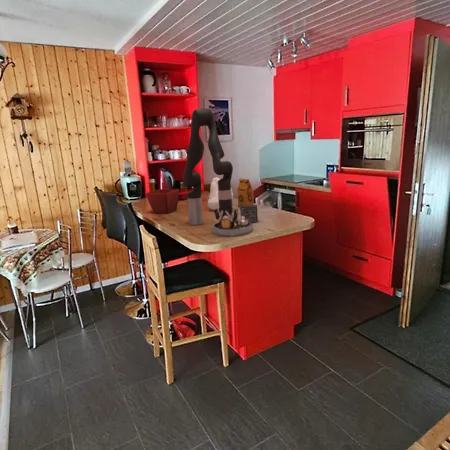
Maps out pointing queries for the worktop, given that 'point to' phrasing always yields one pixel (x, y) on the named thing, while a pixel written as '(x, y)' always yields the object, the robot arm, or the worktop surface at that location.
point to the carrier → (234, 228)
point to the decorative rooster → (214, 195)
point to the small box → (249, 213)
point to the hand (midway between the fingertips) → (227, 227)
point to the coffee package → (245, 193)
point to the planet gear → (226, 223)
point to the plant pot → (163, 200)
